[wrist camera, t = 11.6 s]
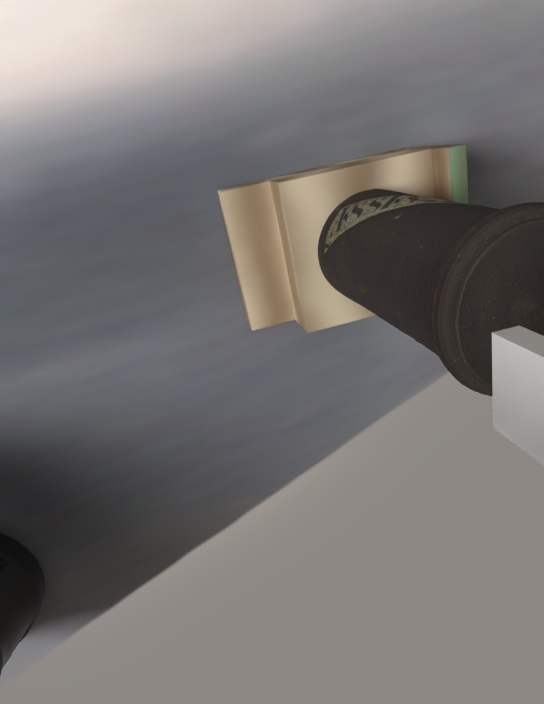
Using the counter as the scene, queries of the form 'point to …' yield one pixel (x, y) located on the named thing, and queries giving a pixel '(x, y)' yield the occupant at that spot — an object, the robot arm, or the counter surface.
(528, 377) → the robot arm
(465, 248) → the container
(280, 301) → the stand
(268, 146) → the counter surface
